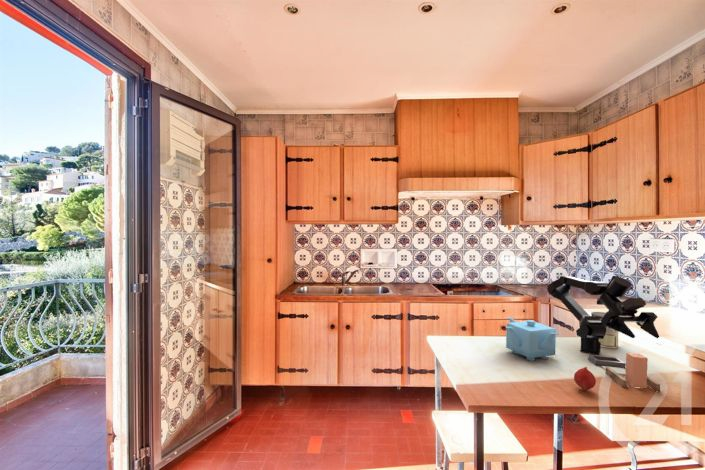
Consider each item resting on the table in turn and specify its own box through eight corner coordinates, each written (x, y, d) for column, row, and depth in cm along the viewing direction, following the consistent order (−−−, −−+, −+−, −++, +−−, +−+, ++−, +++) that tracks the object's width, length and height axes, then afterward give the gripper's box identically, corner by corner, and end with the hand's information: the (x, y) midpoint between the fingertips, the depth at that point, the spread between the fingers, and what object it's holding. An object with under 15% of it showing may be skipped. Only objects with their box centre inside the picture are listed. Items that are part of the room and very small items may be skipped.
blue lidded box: (552, 352, 137) (553, 318, 137) (558, 368, 120) (560, 330, 120) (504, 344, 145) (505, 312, 145) (504, 358, 129) (505, 322, 128)
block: (625, 382, 110) (626, 352, 110) (638, 383, 109) (639, 353, 109) (632, 387, 106) (633, 356, 106) (646, 389, 105) (647, 358, 105)
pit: (588, 359, 130) (588, 354, 130) (616, 362, 127) (616, 357, 127) (595, 365, 124) (595, 360, 124) (625, 368, 122) (625, 363, 122)
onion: (569, 386, 106) (570, 362, 106) (585, 385, 107) (586, 362, 107) (583, 395, 101) (584, 370, 100) (600, 394, 101) (600, 370, 101)
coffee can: (586, 339, 155) (587, 310, 154) (612, 342, 151) (613, 313, 151) (595, 346, 145) (596, 316, 145) (622, 349, 142) (623, 318, 141)
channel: (605, 373, 117) (605, 366, 117) (638, 377, 114) (638, 370, 114) (623, 387, 106) (623, 380, 106) (660, 392, 104) (660, 384, 104)
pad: (601, 366, 123) (601, 365, 123) (622, 369, 121) (622, 368, 121) (609, 373, 117) (609, 372, 117) (632, 375, 115) (632, 374, 115)
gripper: (602, 290, 122) (634, 322, 109) (648, 290, 123) (684, 322, 110) (589, 310, 128) (617, 342, 115) (632, 310, 129) (665, 342, 116)
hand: (646, 337), depth 114 cm, fingers open, 9 cm apart
